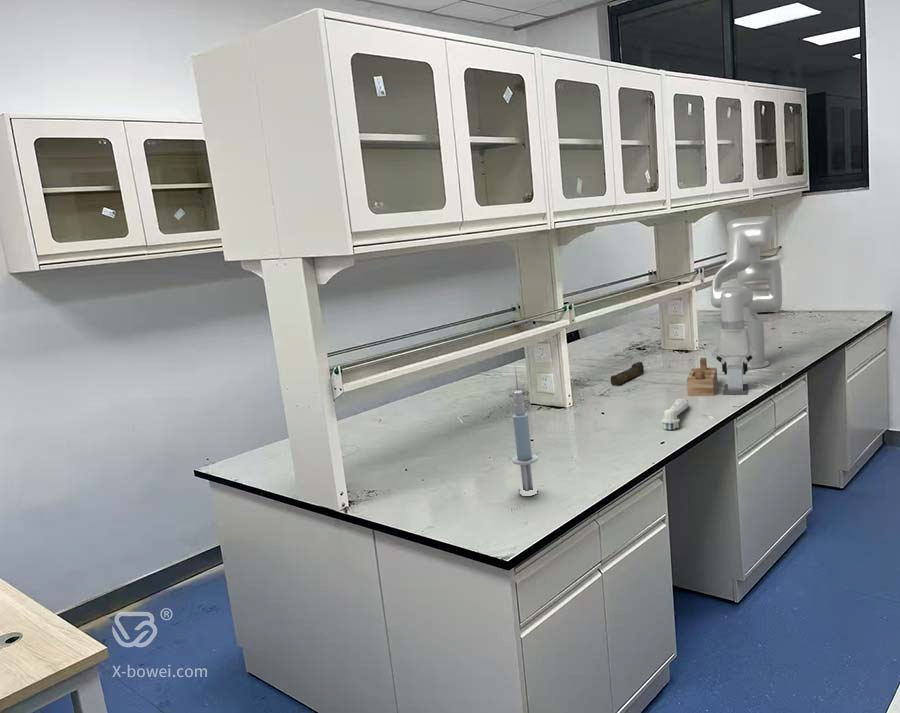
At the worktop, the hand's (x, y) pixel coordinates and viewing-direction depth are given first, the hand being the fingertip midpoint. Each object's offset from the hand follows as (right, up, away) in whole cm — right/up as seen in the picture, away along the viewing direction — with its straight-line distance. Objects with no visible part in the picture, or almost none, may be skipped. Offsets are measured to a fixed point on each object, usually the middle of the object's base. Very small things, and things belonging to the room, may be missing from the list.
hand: (735, 373), depth 259 cm
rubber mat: (+1, -6, +1) cm, 6 cm away
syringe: (-83, -30, -69) cm, 112 cm away
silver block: (+1, -6, +1) cm, 6 cm away
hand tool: (-30, -4, +35) cm, 46 cm away
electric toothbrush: (-29, -15, -23) cm, 40 cm away
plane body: (-9, -6, +7) cm, 13 cm away
